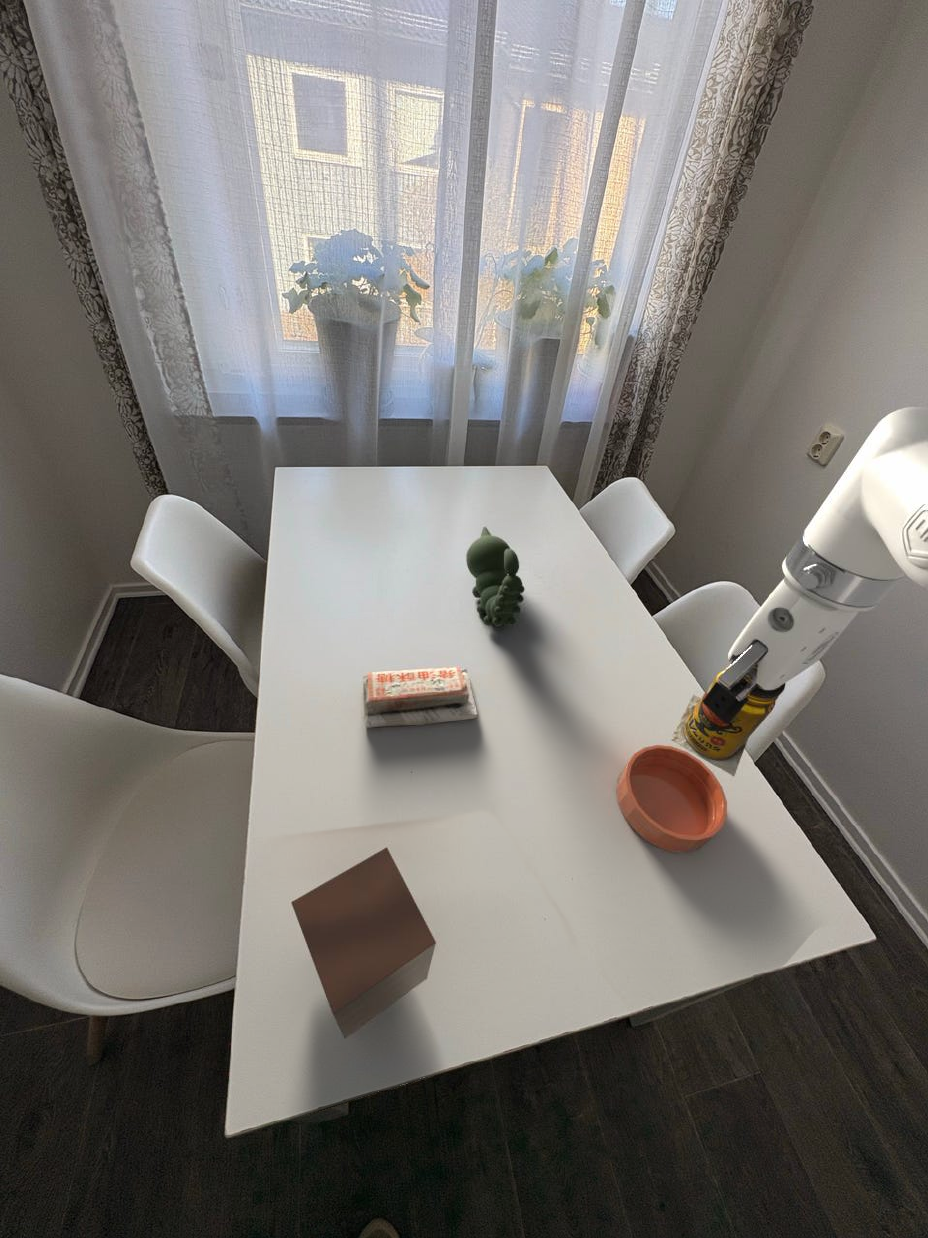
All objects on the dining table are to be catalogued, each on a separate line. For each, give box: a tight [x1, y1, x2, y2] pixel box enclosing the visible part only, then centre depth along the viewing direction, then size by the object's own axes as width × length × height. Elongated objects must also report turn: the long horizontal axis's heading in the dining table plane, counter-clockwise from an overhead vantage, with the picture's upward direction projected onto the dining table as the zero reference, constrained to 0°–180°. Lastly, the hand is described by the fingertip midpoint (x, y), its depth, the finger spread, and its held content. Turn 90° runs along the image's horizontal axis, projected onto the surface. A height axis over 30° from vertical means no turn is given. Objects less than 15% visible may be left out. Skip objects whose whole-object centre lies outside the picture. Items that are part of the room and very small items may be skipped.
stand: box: [290, 847, 437, 1039], centre depth 53 cm, size 10×10×16 cm
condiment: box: [670, 661, 787, 777], centre depth 56 cm, size 7×8×12 cm
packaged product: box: [362, 666, 478, 729], centre depth 84 cm, size 18×5×10 cm
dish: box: [616, 744, 728, 853], centre depth 75 cm, size 14×14×4 cm
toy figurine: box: [465, 526, 525, 627], centre depth 99 cm, size 9×19×25 cm
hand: (736, 698), depth 54 cm, fingers closed on condiment, 6 cm apart
